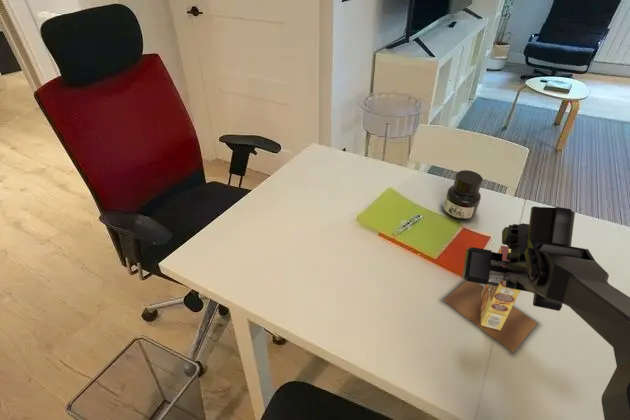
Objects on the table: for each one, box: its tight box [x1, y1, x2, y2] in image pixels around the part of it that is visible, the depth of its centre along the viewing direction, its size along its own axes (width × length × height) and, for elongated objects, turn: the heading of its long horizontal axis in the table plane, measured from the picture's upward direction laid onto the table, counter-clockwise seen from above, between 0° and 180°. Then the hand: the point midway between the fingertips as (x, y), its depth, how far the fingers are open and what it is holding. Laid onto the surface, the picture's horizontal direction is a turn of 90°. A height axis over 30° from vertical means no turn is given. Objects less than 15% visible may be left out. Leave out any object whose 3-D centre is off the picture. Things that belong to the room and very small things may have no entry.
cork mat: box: [443, 280, 538, 353], centre depth 80 cm, size 16×10×1 cm, turn 40°
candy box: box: [481, 245, 522, 330], centre depth 75 cm, size 9×4×15 cm, turn 161°
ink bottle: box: [442, 169, 484, 222], centre depth 103 cm, size 10×9×12 cm
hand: (505, 272), depth 74 cm, fingers closed on candy box, 4 cm apart
